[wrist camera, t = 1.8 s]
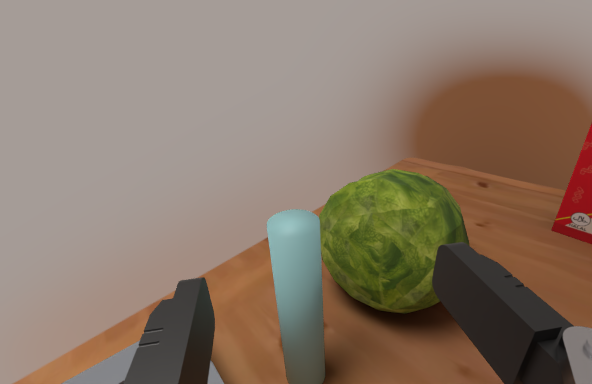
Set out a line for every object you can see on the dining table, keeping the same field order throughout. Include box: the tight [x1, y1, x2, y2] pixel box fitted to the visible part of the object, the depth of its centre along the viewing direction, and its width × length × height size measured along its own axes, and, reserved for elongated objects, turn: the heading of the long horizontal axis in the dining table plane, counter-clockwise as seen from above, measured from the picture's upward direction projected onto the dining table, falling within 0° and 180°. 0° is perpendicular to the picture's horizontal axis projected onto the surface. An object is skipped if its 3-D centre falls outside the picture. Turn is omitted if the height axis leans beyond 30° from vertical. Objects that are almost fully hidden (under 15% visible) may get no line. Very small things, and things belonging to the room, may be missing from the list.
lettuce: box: [319, 169, 469, 314], centre depth 40 cm, size 17×23×16 cm
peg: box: [267, 209, 325, 384], centre depth 26 cm, size 4×4×18 cm
